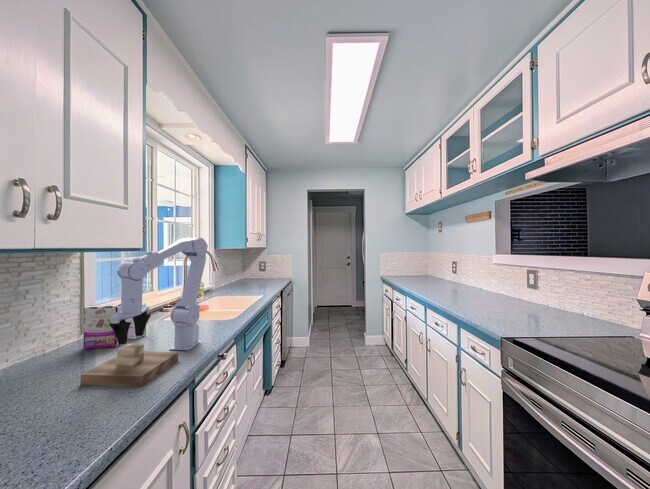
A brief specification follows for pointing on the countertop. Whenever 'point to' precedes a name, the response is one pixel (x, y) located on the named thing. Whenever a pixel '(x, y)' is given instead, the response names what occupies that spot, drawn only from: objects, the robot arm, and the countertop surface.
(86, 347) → the candy bar box
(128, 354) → the birch cube
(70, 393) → the countertop surface
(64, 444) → the countertop surface
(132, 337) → the syrup box
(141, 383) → the walnut plinth
